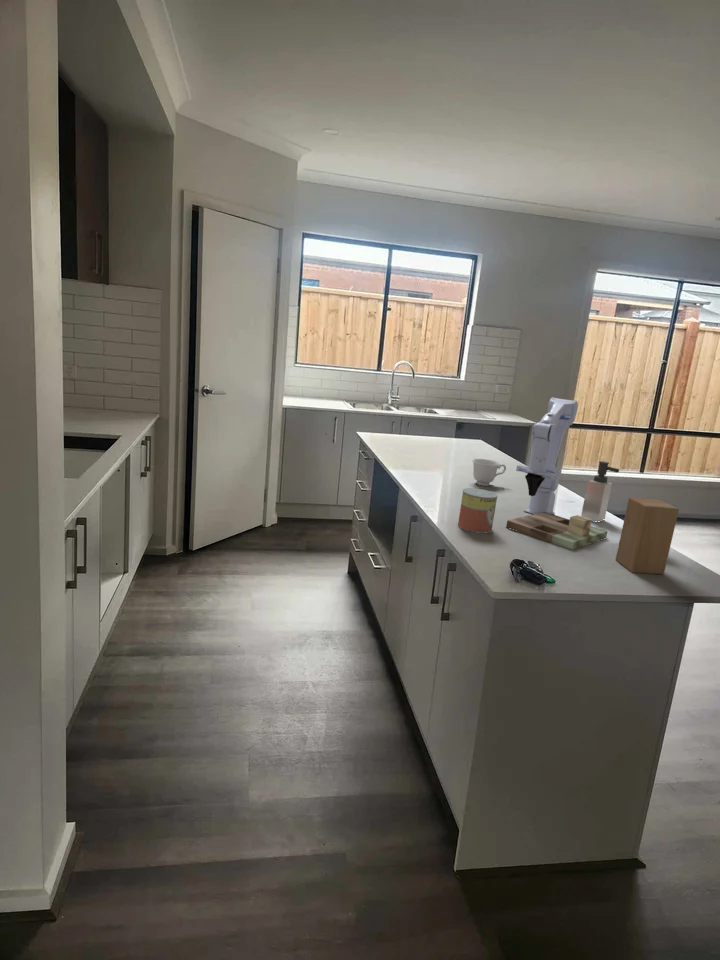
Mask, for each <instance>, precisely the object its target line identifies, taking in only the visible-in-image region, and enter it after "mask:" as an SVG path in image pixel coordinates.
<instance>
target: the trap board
mask: <svg viewBox="0 0 720 960" xmlns="http://www.w3.org/2000/svg"><path fill="white" fill-rule="evenodd" d="M569 521H570V518H565V517H562V516H559V515H556V514H549V513H546V512H541V513H537V514H529V515H528V514H527V515H525V516H522V517H521V516H520V517H515V518H511V519H507V520H506V525H505V526H506V527H508V528H507V529H509V528H511V529H510V530H512V529H514V530H513V531H515V530H517V531H516V532H518V531H519V533H521V532H522V534H524V533H525V534H524V535H527V534H528V535H527V536H530V537H532V538H533V537H534V538H535V539H538V540H542V541H544V542H547V543H550V544H554V545H556V546H560V547H562V548H565V549H568V550H571V551H572V550H575V549H578V548H582V547H584V545H585V546H587V544H588V545H590V543H591V544H594V543H596V541H597V542H599V541H598V540H600V541H602V540H601V539H603V540H605V539H604V538H606V539H607V536H608V530H604V529H602V528H598V527H594V526H592V525H591V527H590V532H589V534H587V535H583V536H580V535H577V534H574V533H571V532H568V526H569ZM506 527H505V528H506ZM593 542H594V543H593Z"/></svg>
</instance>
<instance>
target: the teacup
mask: <svg viewBox="0 0 720 960" xmlns="http://www.w3.org/2000/svg"><path fill="white" fill-rule="evenodd" d="M472 463H473V473H472V474H473V479H474V480H476V482H475V483H476V484H477V485H479V486H482V487H487V486H490V483H493V481H494V480H495V478H496V477H497V476H500V475H502V474H504V473H505V472H506V471H507V466H506V464H505V463H500V462H498V461H495V460H492V459H491V460H490V459H485V458H484V459H483V458H475V459H474V458H473V459H472ZM502 467H503V469H502V471H500V472H498V470H500V469H501V468H502Z"/></svg>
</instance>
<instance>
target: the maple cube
mask: <svg viewBox="0 0 720 960" xmlns="http://www.w3.org/2000/svg"><path fill="white" fill-rule="evenodd" d="M569 517H570V518H569V520H570V521H569V526H568V532H571V533H574V534H577V535H580V536H583V535H587V534H589V532H590V527H591V526H592V523H593V522H592V519H589V518H586V517H583V516H581V515H579V514H577V515H572V516H569Z"/></svg>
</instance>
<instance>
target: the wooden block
mask: <svg viewBox="0 0 720 960" xmlns="http://www.w3.org/2000/svg"><path fill="white" fill-rule="evenodd" d="M627 500H628V502H627V505H626V510H625V515H624V518H623V519H624V520H623V524H622V529H621V533H620V539H619V543H618V547H617V552H616V556H615V561H617V563H619V564H620V565H622V566H623V567H625V569H627V570H628V571H630V572H631V573H635V574H636V573H637V574H638V573H639V574H651V575H664V574H665V570H666V567H667V562H668V557H669V553H670V550H671V549H670V548H671V545H672V541H673V537H674V532H675V528H676V523H677V520H678V515H679V508H677V507H676V506H673V505H672V504H670V503H668V502H666V501H663V500H661V499H658V498H657V499H656V498H655V499H654V498H646V497H644V498H643V497H633V496H632V497H631V496H630V497H628V499H627Z"/></svg>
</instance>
